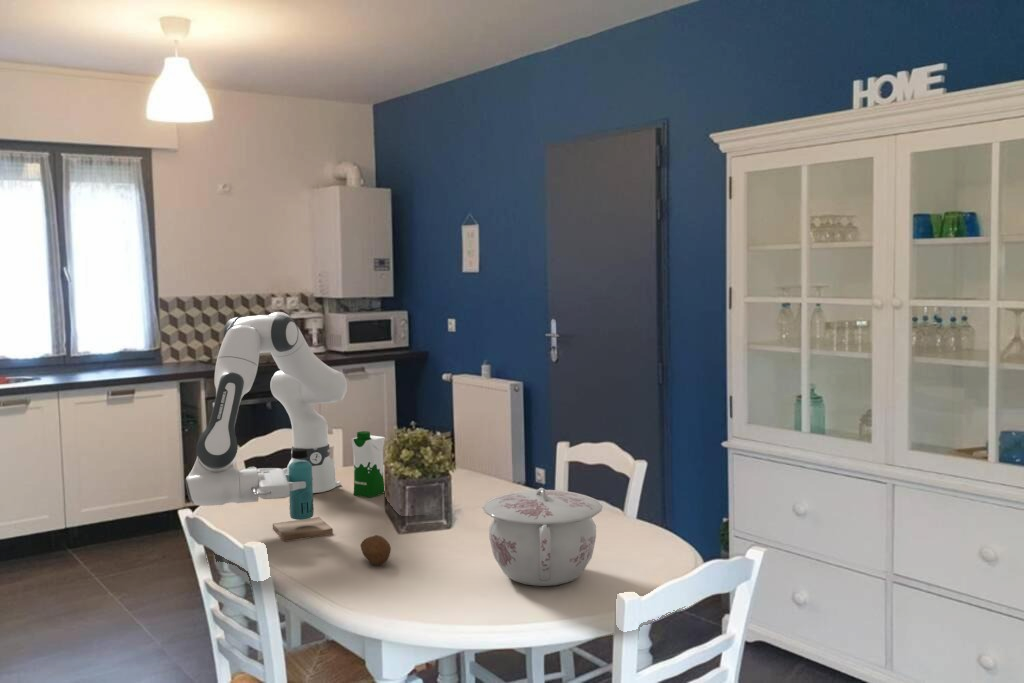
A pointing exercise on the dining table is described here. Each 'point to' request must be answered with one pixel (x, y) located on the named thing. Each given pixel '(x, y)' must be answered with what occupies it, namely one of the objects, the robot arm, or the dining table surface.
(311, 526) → the trivet
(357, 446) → the milk carton
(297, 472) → the beverage bottle
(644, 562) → the dining table surface
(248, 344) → the robot arm
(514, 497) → the chamber pot
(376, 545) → the potato
